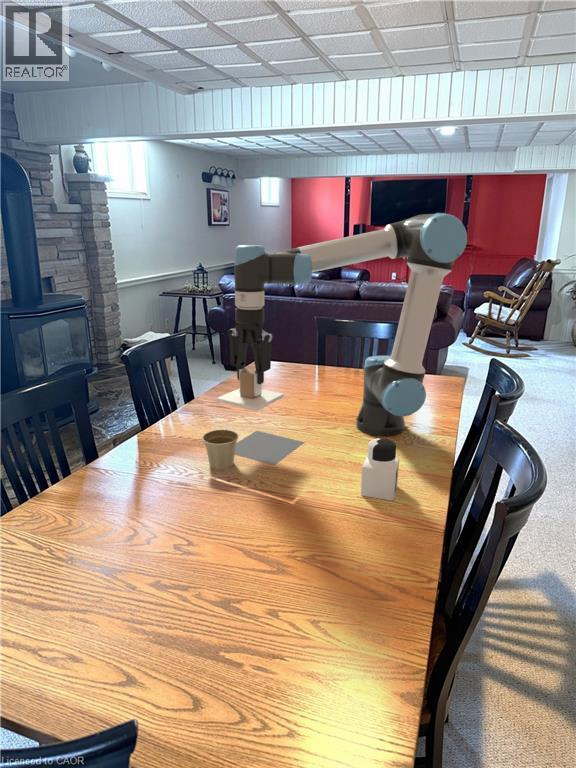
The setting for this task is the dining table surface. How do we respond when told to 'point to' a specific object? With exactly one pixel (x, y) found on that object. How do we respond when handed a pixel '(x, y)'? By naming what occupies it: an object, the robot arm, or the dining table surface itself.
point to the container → (380, 470)
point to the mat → (266, 447)
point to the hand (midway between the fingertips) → (250, 393)
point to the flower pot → (220, 448)
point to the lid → (249, 394)
